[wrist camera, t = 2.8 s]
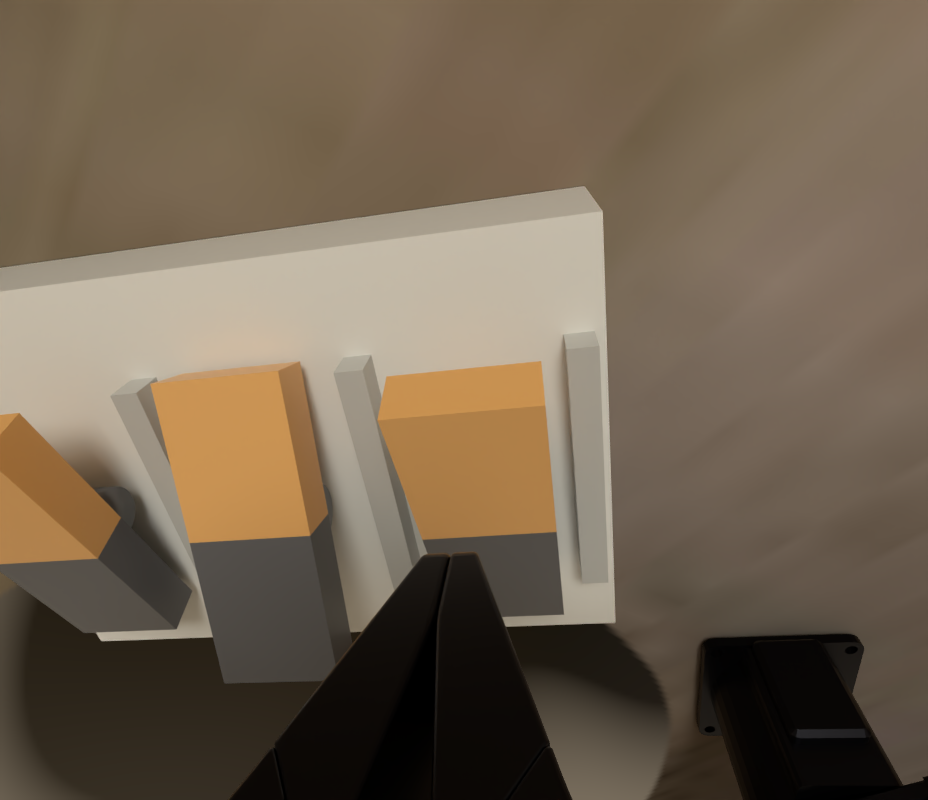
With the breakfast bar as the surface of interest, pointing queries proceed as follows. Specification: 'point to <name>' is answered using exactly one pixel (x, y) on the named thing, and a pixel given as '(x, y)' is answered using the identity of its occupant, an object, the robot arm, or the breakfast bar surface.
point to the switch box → (329, 366)
